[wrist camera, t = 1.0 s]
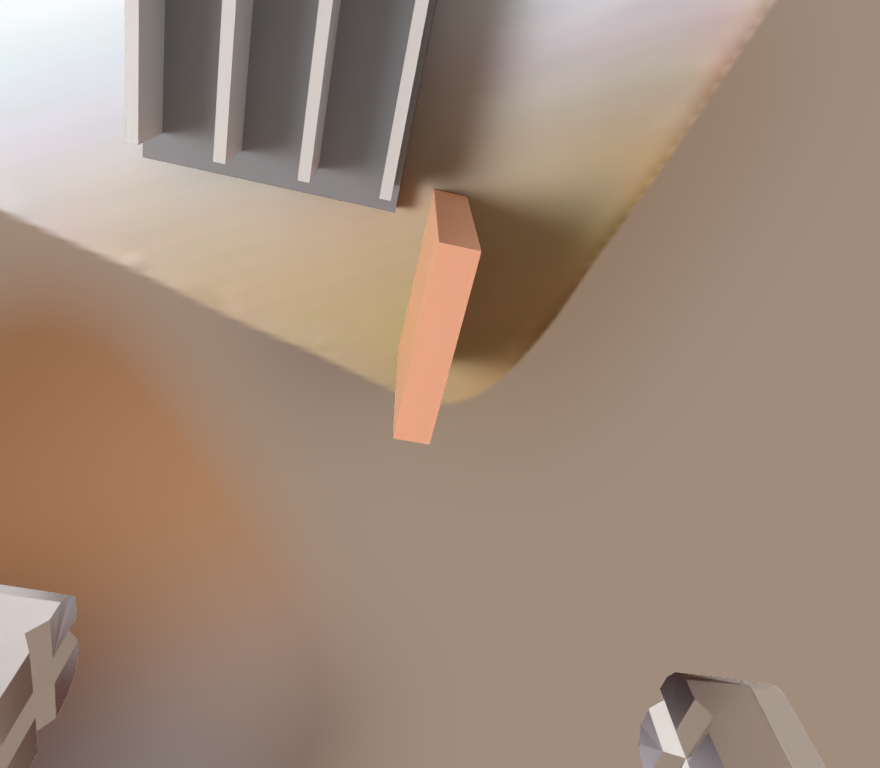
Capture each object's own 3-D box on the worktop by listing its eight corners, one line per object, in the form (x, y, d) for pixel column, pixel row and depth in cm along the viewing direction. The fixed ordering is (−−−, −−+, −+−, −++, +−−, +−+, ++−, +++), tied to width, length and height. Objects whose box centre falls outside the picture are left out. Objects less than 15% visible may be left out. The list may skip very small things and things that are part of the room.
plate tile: (434, 189, 38) (438, 242, 30) (467, 196, 39) (481, 251, 30) (397, 352, 44) (392, 438, 35) (427, 358, 44) (429, 444, 35)
